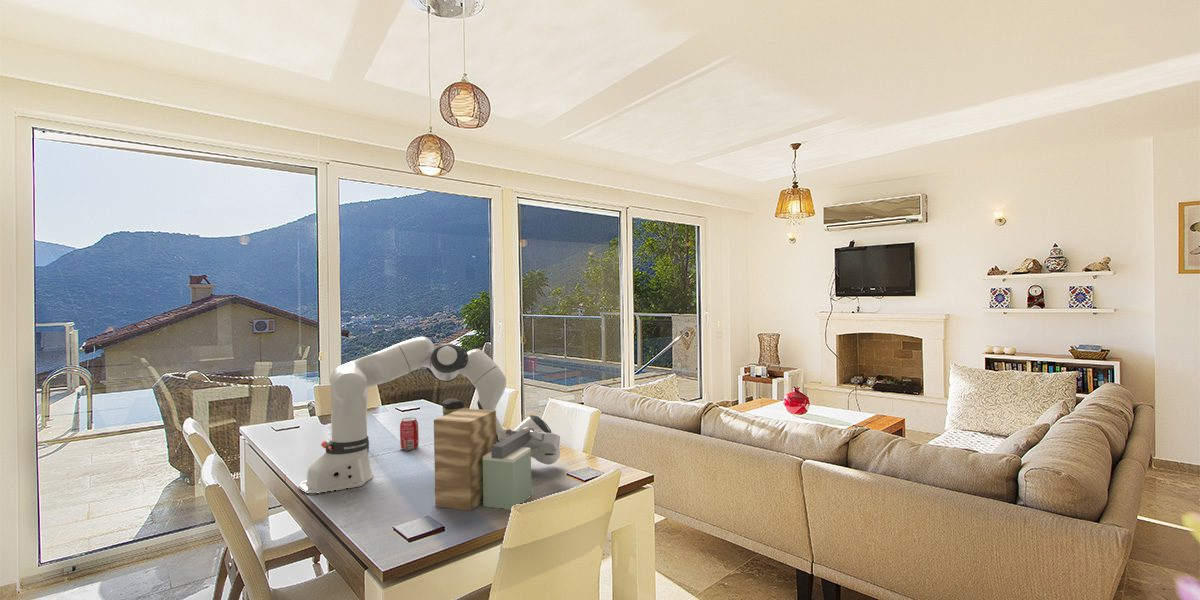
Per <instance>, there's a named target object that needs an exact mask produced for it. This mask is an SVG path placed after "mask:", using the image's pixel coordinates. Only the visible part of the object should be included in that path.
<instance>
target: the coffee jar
mask: <svg viewBox="0 0 1200 600" xmlns="http://www.w3.org/2000/svg"><path fill="white" fill-rule="evenodd" d="M462 408H465V405H464V401H462V400H460V399H457V398H455V397H451V398H450V397H449V398H446V399H445V400H443V401H442V416H444V415H447V414H450V413H452V412H455V411H457V410H460V409H462Z"/></svg>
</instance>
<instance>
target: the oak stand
mask: <svg viewBox="0 0 1200 600" xmlns="http://www.w3.org/2000/svg"><path fill="white" fill-rule="evenodd" d="M496 417H497V410H482V409H479V408H465V407H464V408H462V409H460V410H457V411H455V412H452V413H450V414H447V415H444V416H443V415H442V416H439V417H436V418H435V419H433V455H434V496H435V497H434V504H435V507H441V508H448V509H456V510H464V511H472V510H474V509H475V508H476V507H477V505H478V506H479V505H480V504H482V503H483V456H484V455H486V454H488V453H489V452H491V446H492V445H494V444H496ZM481 502H482V503H481Z"/></svg>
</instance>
